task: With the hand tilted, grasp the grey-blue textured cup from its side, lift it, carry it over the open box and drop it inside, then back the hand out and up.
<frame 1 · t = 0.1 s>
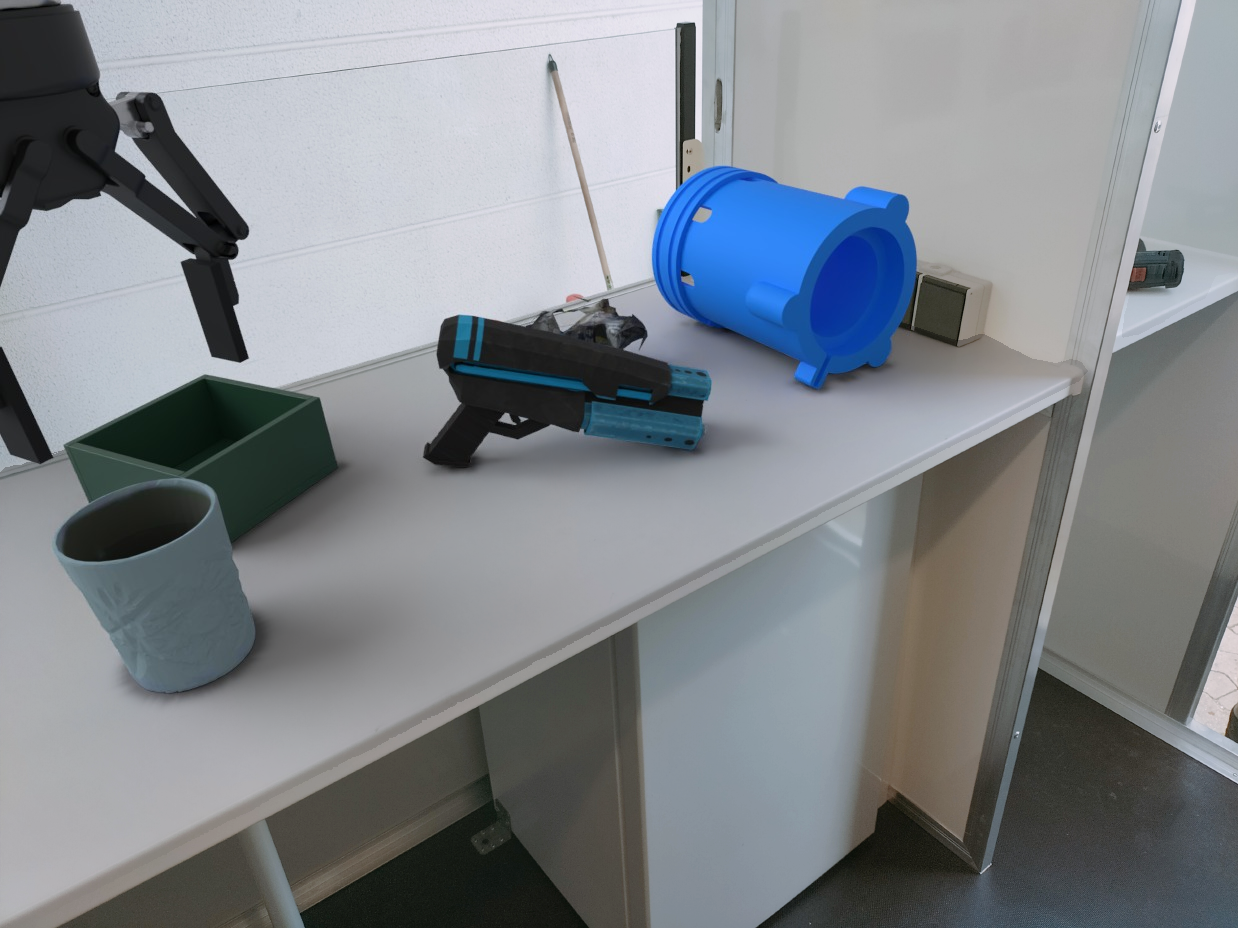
hand: (141, 402, 51), 21 cm above the table, tool pointing down, fingers open, 13 cm apart
gun: (570, 452, 85), on the table
grey-blue textured cup: (192, 652, 63), on the table
tube: (772, 346, 105), on the table
open box: (220, 491, 82), on the table
foil: (568, 375, 101), on the table
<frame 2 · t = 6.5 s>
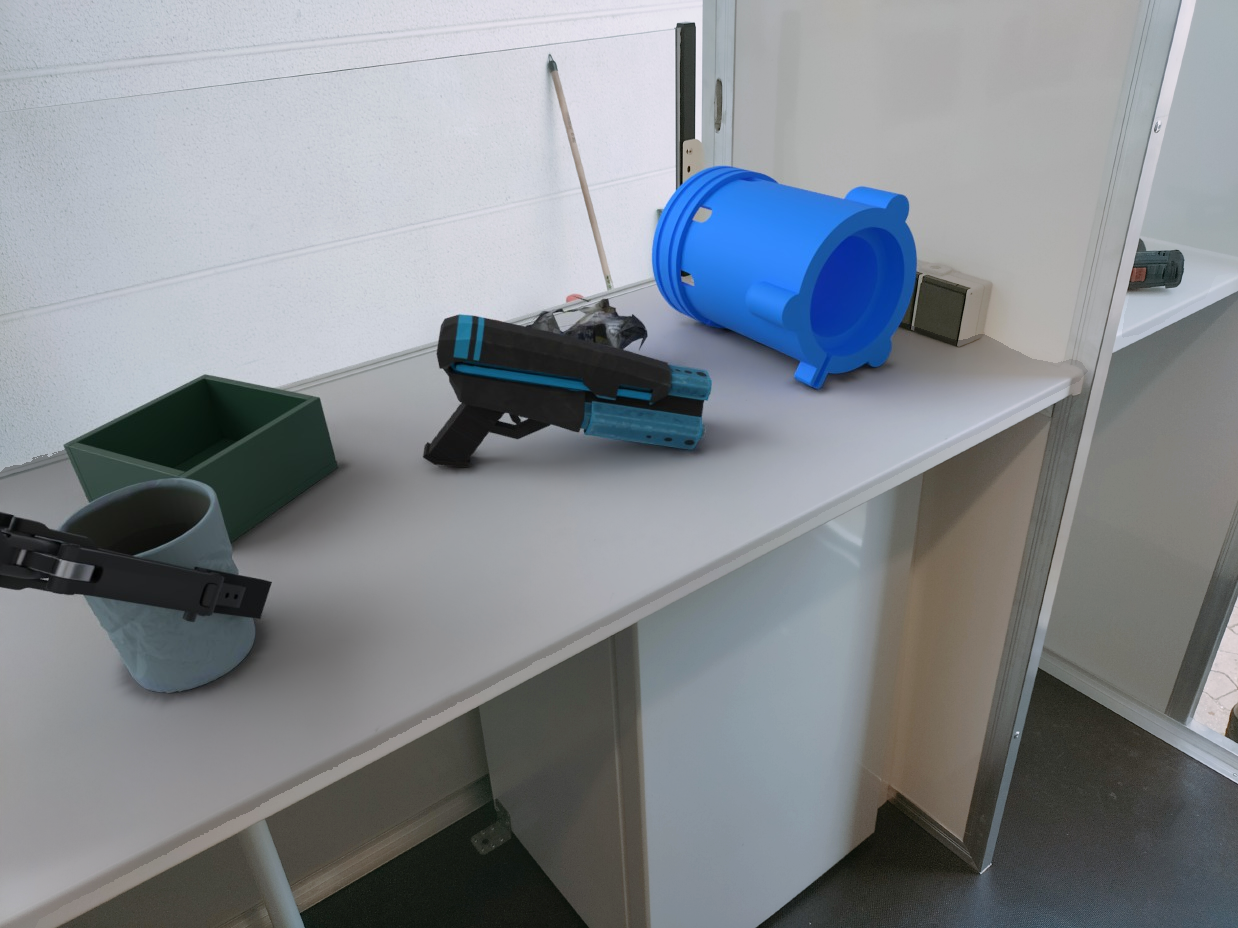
hand: (207, 583, 63), 4 cm above the table, tool tilted 45°, fingers closed on grey-blue textured cup, 10 cm apart
grey-blue textured cup: (192, 652, 63), on the table, touching gripper
everything else where it was.
when the fingers open (6 cm above the table, at t = 16.5 s): grey-blue textured cup moves 2 cm, resting on open box.
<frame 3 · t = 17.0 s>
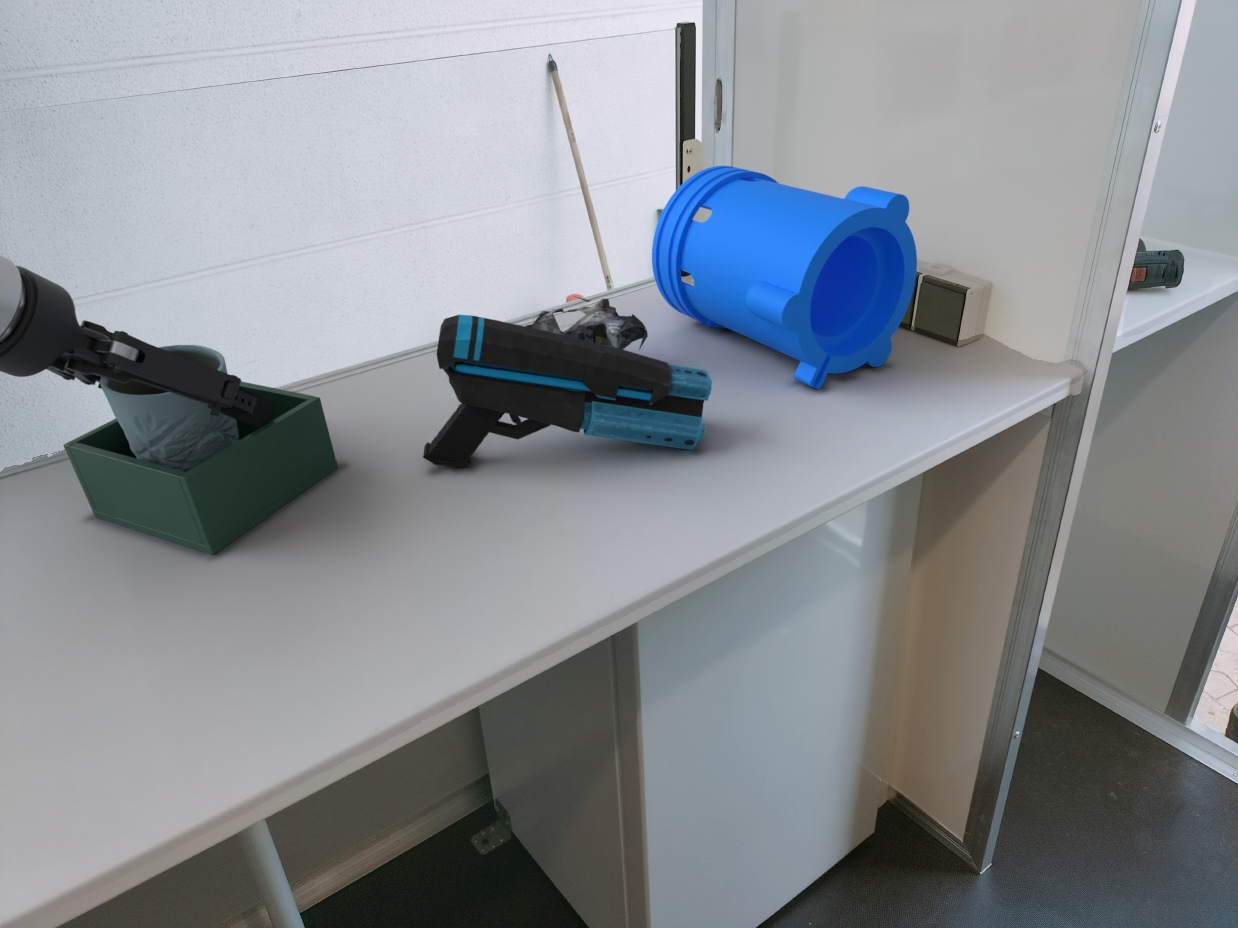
hand: (215, 407, 80), 8 cm above the table, tool tilted 45°, fingers open, 12 cm apart
grey-blue textured cup: (196, 481, 82), point 1 cm above the table, touching gripper, open box
everything else where it was.
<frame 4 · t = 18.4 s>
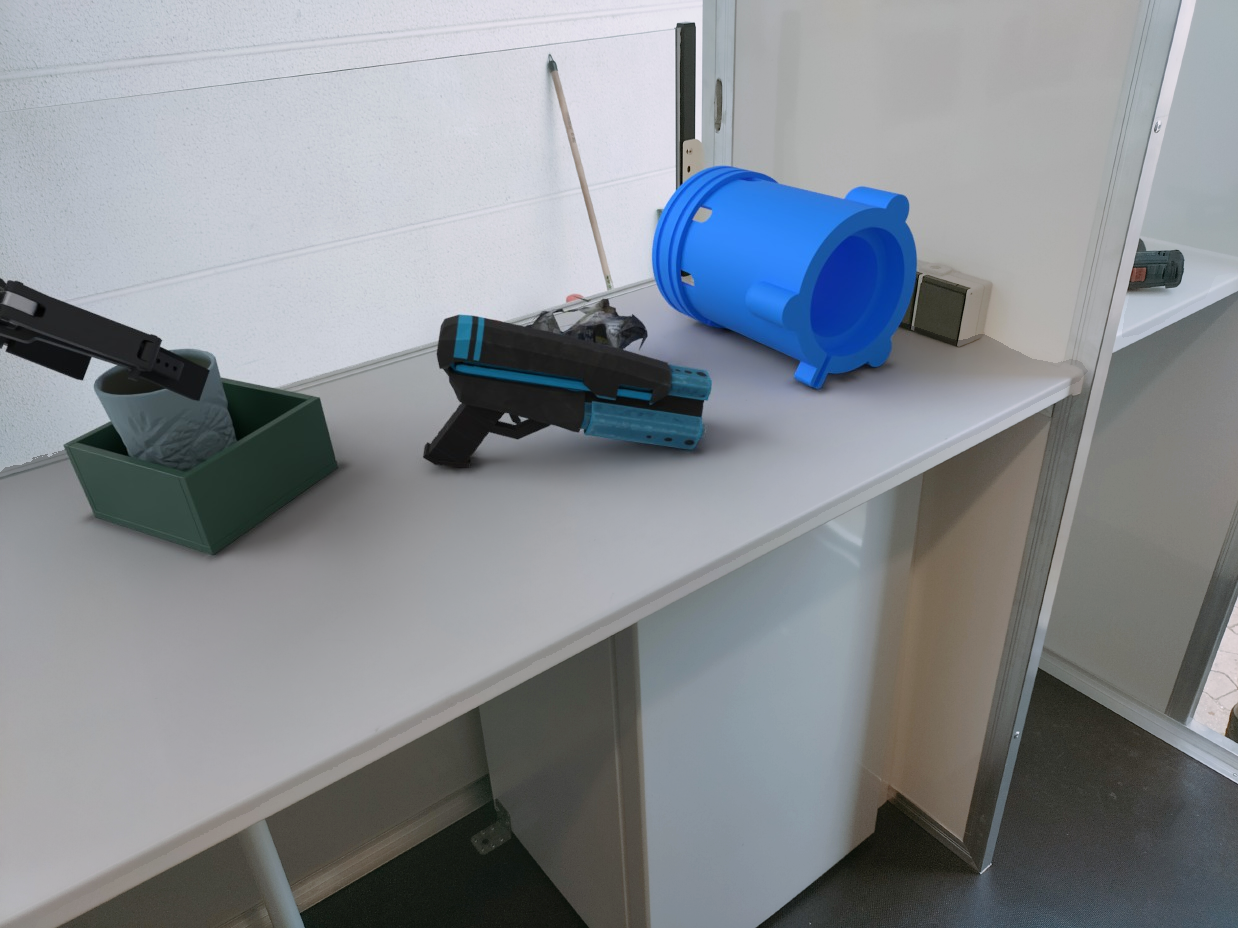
hand: (141, 375, 72), 14 cm above the table, tool tilted 45°, fingers open, 13 cm apart
grey-blue textured cup: (197, 485, 82), point 1 cm above the table, touching open box
everything else where it was.
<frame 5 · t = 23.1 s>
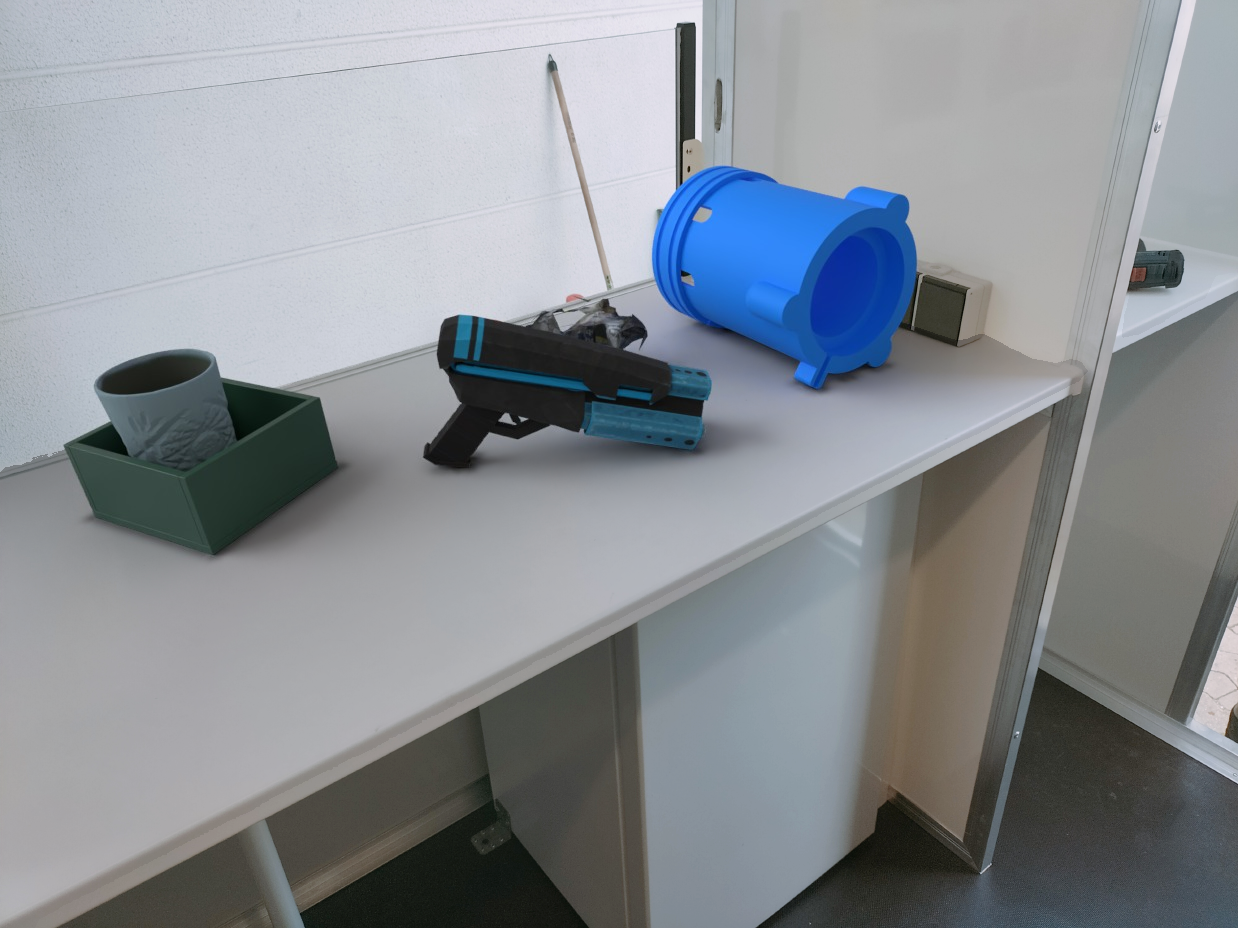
nothing on the table moved.
at the end: grey-blue textured cup inside the target area in the open box (2.2 cm from its centre), point 0.6 cm above the open box's base; the gripper is holding nothing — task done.
